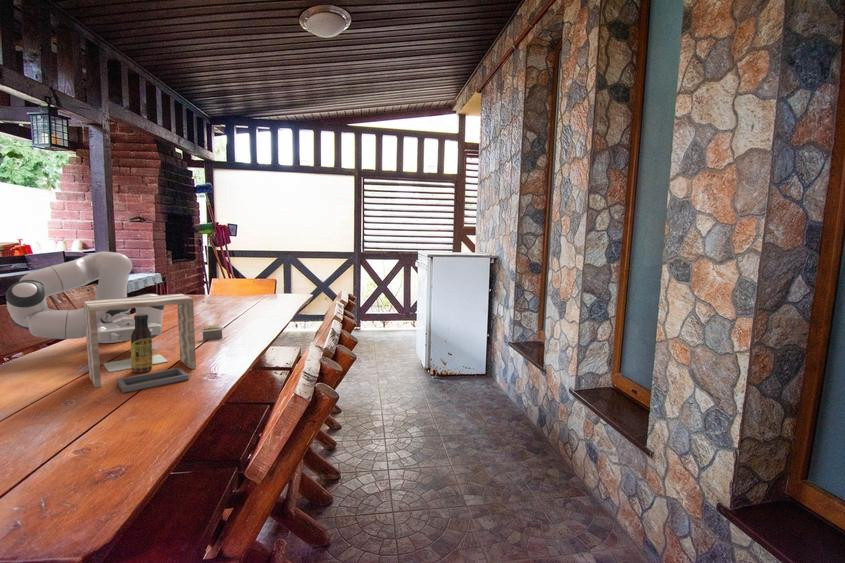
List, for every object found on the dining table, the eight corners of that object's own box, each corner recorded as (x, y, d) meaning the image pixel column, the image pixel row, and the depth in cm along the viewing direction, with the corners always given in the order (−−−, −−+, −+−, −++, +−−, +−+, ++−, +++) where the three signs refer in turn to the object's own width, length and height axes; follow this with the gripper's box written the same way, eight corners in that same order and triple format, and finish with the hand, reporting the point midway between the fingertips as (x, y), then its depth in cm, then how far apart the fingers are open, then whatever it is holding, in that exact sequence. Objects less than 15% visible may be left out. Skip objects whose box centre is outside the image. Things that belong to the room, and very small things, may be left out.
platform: (188, 339, 196) (188, 324, 195) (231, 334, 206) (230, 321, 205) (191, 345, 186) (191, 330, 186) (236, 339, 196) (235, 325, 196)
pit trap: (117, 384, 137) (116, 379, 137) (179, 372, 149) (179, 367, 149) (123, 393, 130) (122, 387, 130) (188, 380, 142) (188, 374, 142)
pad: (103, 364, 157) (103, 363, 157) (159, 355, 169) (159, 354, 169) (109, 372, 148) (108, 371, 148) (167, 362, 161) (167, 361, 161)
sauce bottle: (135, 374, 146) (132, 317, 144) (128, 371, 150) (125, 315, 148) (156, 370, 152) (153, 314, 149) (149, 366, 155) (146, 312, 153)
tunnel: (89, 376, 144) (83, 301, 141) (184, 359, 164) (181, 293, 161) (95, 387, 134) (89, 307, 131) (196, 368, 154) (193, 298, 151)
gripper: (157, 333, 174) (167, 339, 164) (94, 340, 160) (100, 348, 150) (157, 317, 173) (166, 323, 163) (94, 324, 159) (99, 330, 149)
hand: (134, 335), depth 157 cm, fingers open, 8 cm apart
